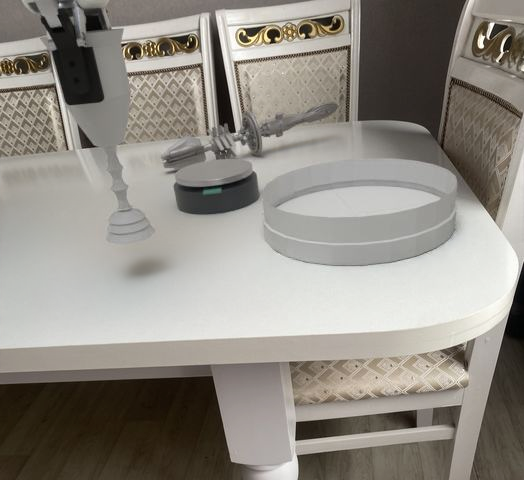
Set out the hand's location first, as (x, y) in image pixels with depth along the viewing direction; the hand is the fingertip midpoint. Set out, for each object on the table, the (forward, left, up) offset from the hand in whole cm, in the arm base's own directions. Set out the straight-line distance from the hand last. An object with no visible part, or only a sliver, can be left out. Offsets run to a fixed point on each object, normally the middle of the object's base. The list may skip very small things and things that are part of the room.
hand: (97, 94), depth 47 cm
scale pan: (+7, +24, -14) cm, 29 cm away
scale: (+7, +24, -18) cm, 31 cm away
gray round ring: (+24, +8, -18) cm, 31 cm away
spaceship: (+12, +49, -18) cm, 53 cm away
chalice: (0, 0, -13) cm, 13 cm away
